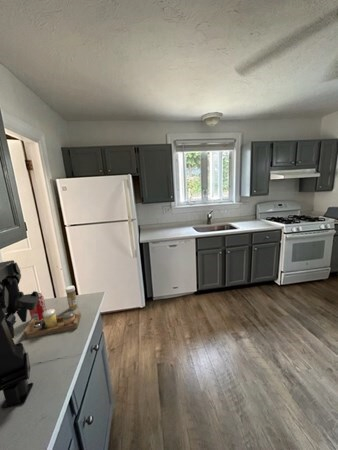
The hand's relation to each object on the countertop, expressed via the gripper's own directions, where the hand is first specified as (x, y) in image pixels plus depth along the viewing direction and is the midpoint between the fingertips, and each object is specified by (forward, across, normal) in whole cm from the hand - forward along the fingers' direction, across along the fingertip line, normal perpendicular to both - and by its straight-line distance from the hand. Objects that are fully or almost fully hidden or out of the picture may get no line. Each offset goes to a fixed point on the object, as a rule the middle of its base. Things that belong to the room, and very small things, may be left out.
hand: (18, 329), depth 78 cm
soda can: (+12, +25, +4) cm, 28 cm away
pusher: (+11, +14, -1) cm, 18 cm away
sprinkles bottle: (+12, +28, -12) cm, 33 cm away
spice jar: (+11, +14, -14) cm, 23 cm away
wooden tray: (+12, +14, -7) cm, 20 cm away
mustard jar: (+11, +14, -6) cm, 19 cm away
